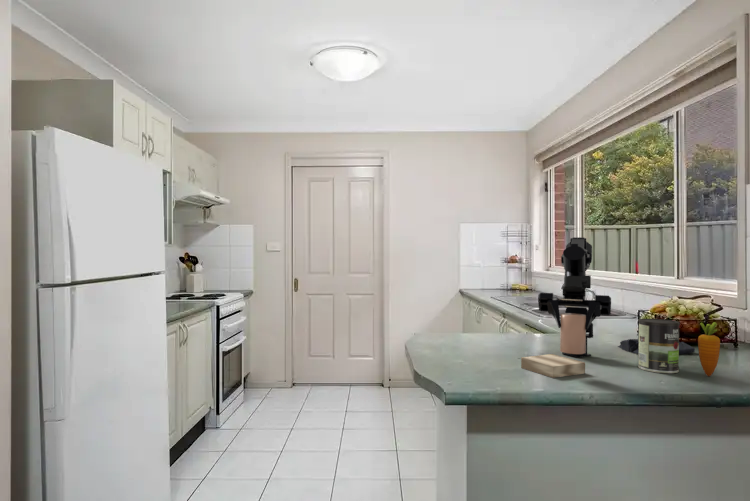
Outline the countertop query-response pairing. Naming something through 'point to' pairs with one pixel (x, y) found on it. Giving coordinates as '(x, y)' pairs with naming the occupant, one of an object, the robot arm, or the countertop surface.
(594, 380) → the countertop surface
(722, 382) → the countertop surface
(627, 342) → the dark slate chunk
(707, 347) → the carrot
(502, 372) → the countertop surface
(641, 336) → the coffee can
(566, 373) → the oak slab
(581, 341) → the terracotta canister
